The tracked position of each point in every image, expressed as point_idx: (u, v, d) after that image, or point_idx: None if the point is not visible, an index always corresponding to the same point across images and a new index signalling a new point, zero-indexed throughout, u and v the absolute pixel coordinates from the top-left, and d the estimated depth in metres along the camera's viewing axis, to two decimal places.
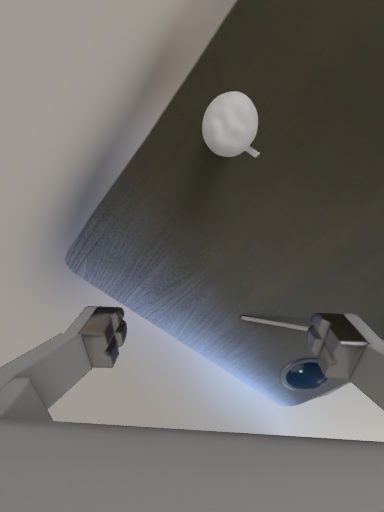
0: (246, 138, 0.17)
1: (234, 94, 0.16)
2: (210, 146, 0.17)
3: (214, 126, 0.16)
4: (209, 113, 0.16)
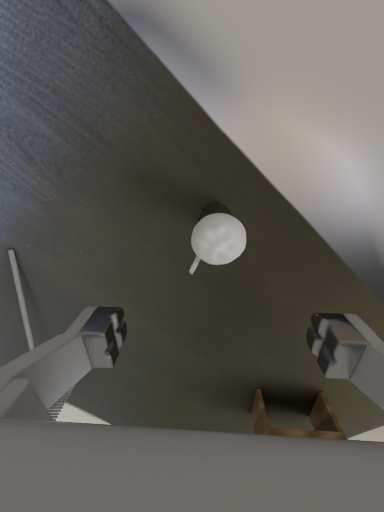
0: (206, 257, 0.17)
1: (243, 244, 0.17)
2: (200, 223, 0.16)
3: (218, 229, 0.16)
4: (230, 222, 0.16)
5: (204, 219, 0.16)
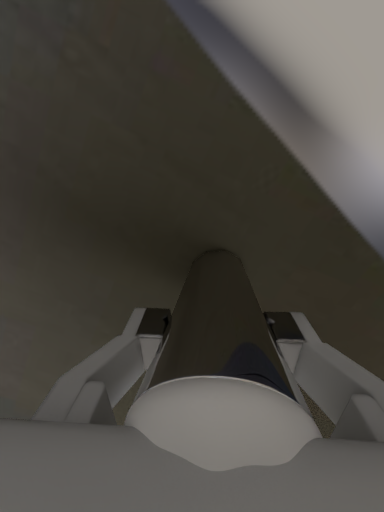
0: None
1: None
2: (146, 419, 0.04)
3: None
4: (271, 448, 0.03)
5: (159, 408, 0.04)
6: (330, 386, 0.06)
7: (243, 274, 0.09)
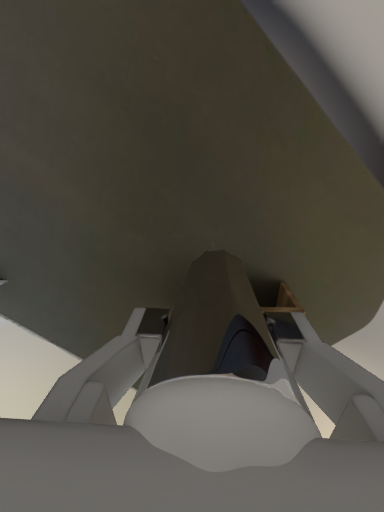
0: None
1: None
2: (145, 418, 0.04)
3: None
4: (270, 447, 0.03)
5: (158, 408, 0.04)
6: (330, 386, 0.06)
7: (243, 274, 0.09)
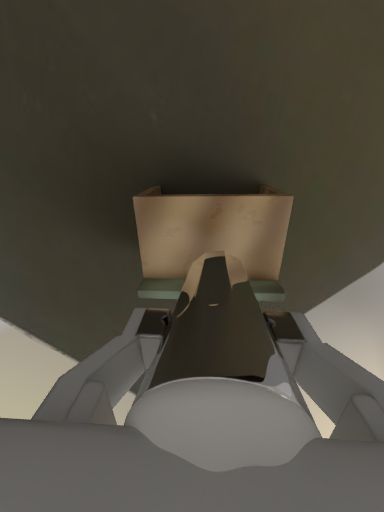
0: None
1: None
2: (146, 420, 0.04)
3: None
4: (271, 449, 0.03)
5: (159, 409, 0.04)
6: (330, 386, 0.06)
7: (243, 274, 0.09)
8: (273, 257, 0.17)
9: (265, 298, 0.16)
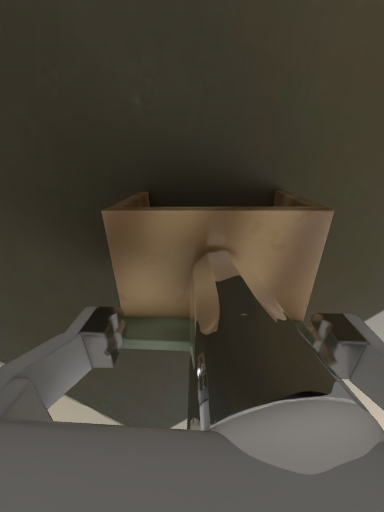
0: None
1: None
2: None
3: None
4: None
5: (244, 447, 0.04)
6: None
7: (252, 274, 0.09)
8: (299, 293, 0.12)
9: None
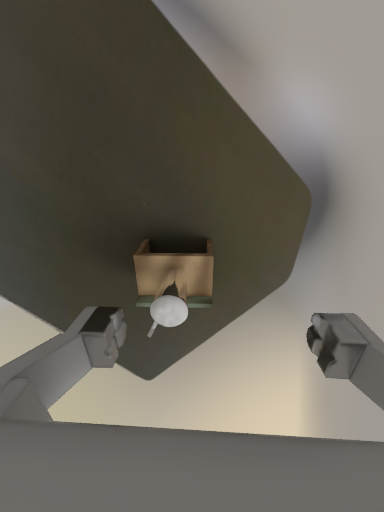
0: (161, 323, 0.25)
1: (185, 315, 0.24)
2: (155, 302, 0.24)
3: (166, 308, 0.23)
4: (174, 303, 0.23)
5: (157, 300, 0.24)
6: None
7: (181, 276, 0.29)
8: (207, 284, 0.32)
9: (202, 306, 0.32)
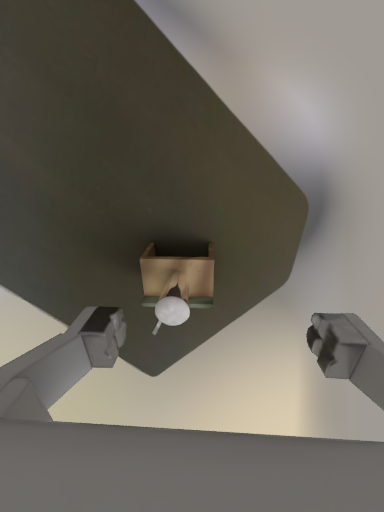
0: (164, 322, 0.27)
1: (187, 315, 0.26)
2: (159, 303, 0.26)
3: (169, 308, 0.25)
4: (177, 303, 0.26)
5: (161, 301, 0.26)
6: None
7: (184, 279, 0.32)
8: (208, 286, 0.34)
9: (203, 306, 0.34)
